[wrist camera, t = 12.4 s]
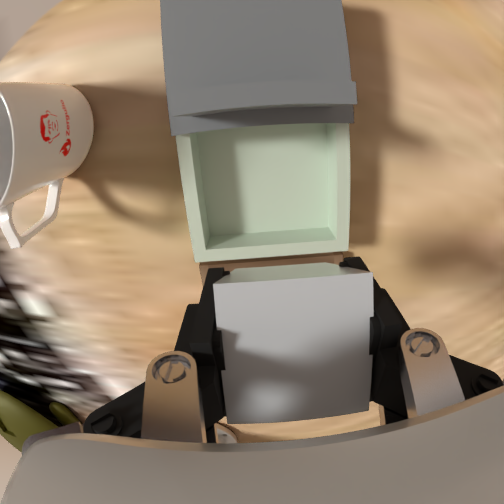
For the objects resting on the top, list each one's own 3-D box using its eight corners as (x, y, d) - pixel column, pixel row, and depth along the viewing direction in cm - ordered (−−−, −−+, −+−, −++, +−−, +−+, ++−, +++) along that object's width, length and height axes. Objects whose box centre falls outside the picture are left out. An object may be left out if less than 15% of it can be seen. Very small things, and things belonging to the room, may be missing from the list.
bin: (337, 233, 26) (348, 250, 23) (201, 244, 26) (195, 262, 23) (334, 95, 21) (347, 92, 18) (183, 106, 21) (171, 104, 18)
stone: (328, 347, 13) (368, 410, 7) (242, 354, 13) (227, 423, 7) (325, 262, 13) (372, 272, 7) (235, 268, 13) (213, 283, 7)
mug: (24, 102, 20) (-59, 114, 10) (94, 71, 19) (9, 59, 9) (44, 213, 25) (-27, 263, 15) (114, 199, 24) (43, 253, 14)
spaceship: (136, 471, 52) (128, 504, 43) (49, 451, 54) (39, 476, 45) (47, 376, 37) (23, 419, 28) (-30, 364, 39) (-49, 391, 30)
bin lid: (350, 123, 18) (385, 126, 13) (173, 135, 19) (146, 143, 13) (333, -27, 13) (356, -62, 8) (162, -15, 14) (136, -48, 8)
